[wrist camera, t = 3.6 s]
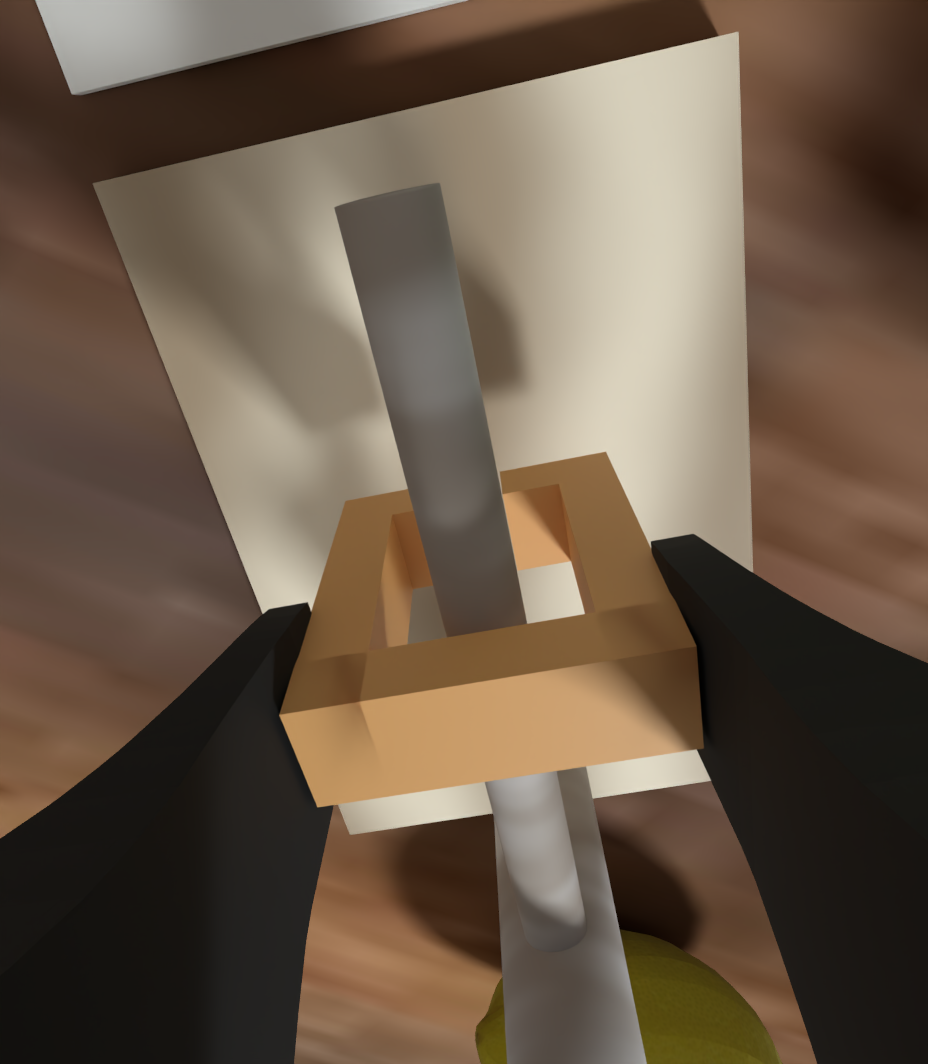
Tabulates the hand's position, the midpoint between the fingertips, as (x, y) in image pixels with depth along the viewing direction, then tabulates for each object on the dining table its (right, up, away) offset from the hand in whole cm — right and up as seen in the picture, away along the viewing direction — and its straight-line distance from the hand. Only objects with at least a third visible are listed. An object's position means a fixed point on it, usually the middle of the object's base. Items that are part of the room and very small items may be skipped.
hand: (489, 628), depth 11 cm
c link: (0, +2, +3) cm, 4 cm away
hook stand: (0, +2, +7) cm, 8 cm away
